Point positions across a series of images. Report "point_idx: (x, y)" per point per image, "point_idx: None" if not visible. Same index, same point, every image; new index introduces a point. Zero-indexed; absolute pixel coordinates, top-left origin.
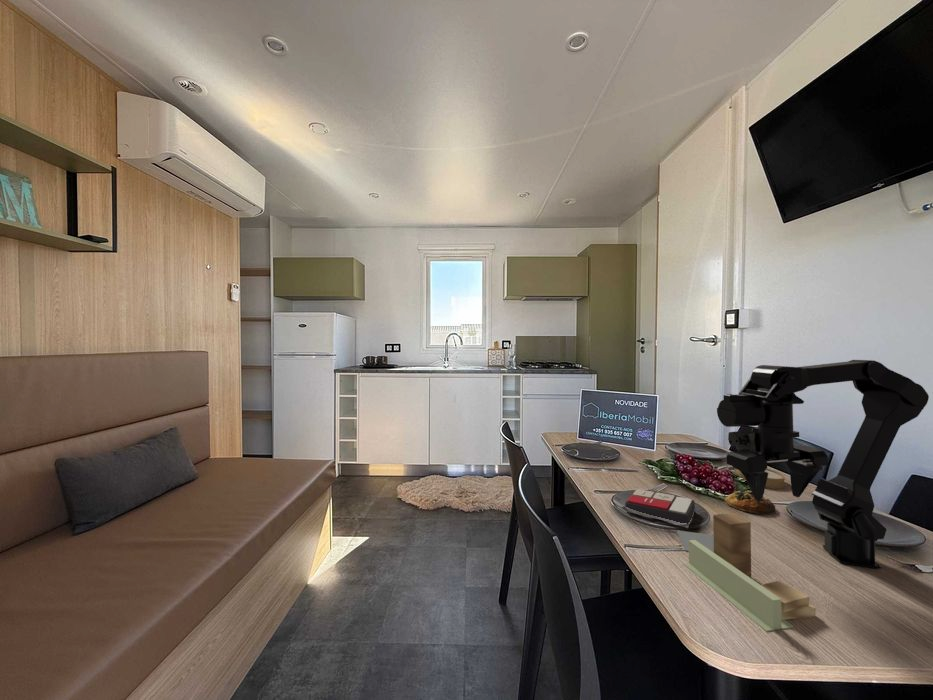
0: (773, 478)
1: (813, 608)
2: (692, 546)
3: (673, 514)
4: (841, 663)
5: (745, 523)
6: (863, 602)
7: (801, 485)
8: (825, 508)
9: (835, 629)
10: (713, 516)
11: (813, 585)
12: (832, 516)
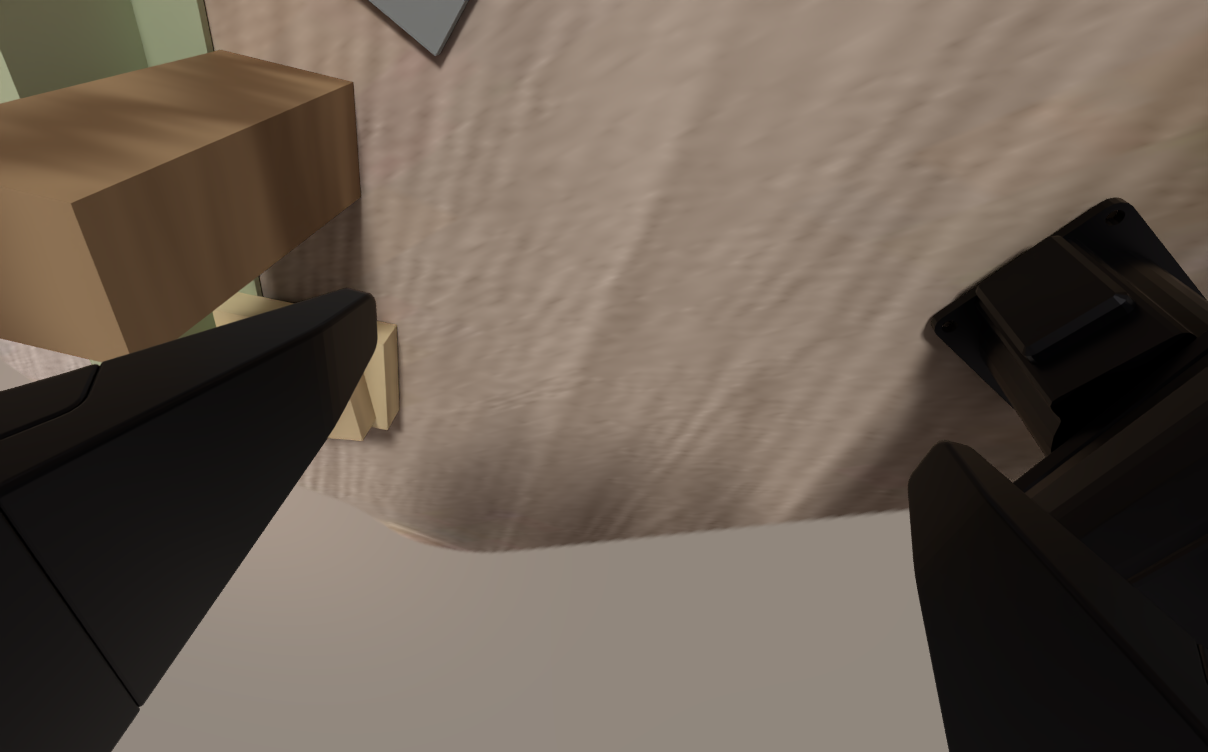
0: None
1: (379, 427)
2: None
3: None
4: (302, 486)
5: (93, 354)
6: (640, 444)
7: (952, 671)
8: (1119, 484)
9: (405, 448)
10: None
11: (584, 337)
12: (1055, 483)
